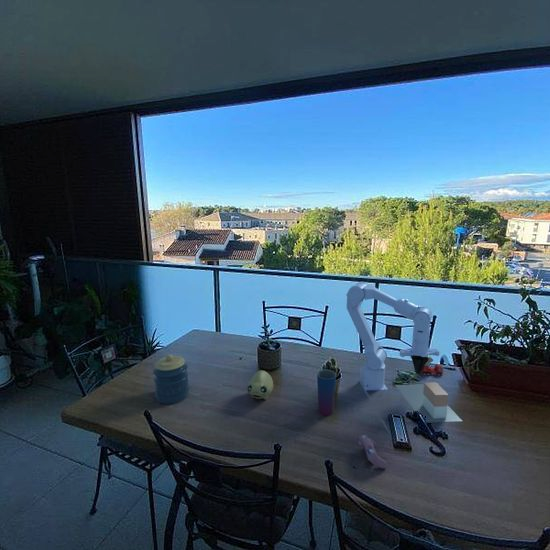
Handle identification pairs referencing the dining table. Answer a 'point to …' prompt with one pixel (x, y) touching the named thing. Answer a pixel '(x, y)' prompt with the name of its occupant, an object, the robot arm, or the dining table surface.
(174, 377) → the canister
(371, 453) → the pink curved figurine
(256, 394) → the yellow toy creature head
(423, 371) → the toy fire truck
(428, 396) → the tan rectangular block
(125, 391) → the dining table surface
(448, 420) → the baseplate
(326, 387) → the cup
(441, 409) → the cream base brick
